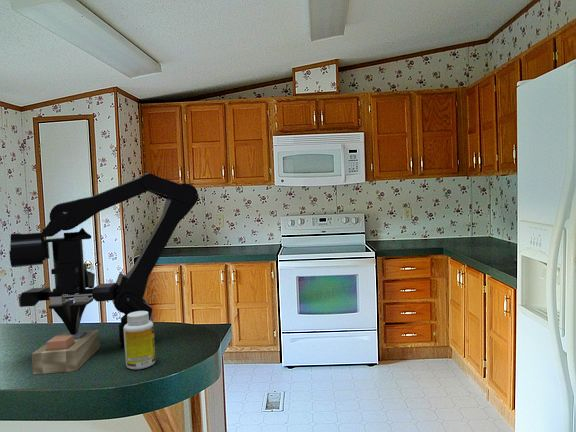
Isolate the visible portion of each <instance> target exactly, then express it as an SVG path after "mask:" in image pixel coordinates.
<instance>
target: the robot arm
mask: <svg viewBox="0 0 576 432" xmlns="http://www.w3.org/2000/svg"><path fill="white" fill-rule="evenodd" d="M147 192H149V193H151V194H154V195H155V196H158V197H159V198H162V199H165V202H164V204H163V209H162V212H161V213H162V214H161V217H160V218H159V220H158V222H156V226H155V227H154V229H153V231H152V232H151V235H149V238H148V239H147V241H146V243H145V245H144V246H143V248H142V249H141V251H140V253H139V256H138V257H137V258H136V259H137V260H136V261H135V262H134V265H133V266H132V267H131V268H130V270H129V271H128V272H127V273H126V274H124V273H122V272H119V274H118V276H117V279H116V282H109V283H108V282H107V283H99V284H98V285H96V286H95V279H96V278H95V277H96V276H95V275H96V274H95V273H94V272H92V271H89V270H88V267H87V264H86V263H85V262H84V261H85V260H84V249H83V247H84V246H83V240H90V239H92V235H91V234H89V233H88V232H87V231H86V230H85V229H84V228H83V227H81V228H80V229H79V231H72V232H63V237H55V238H51V237H54V236H55V235H57V234H58V233H59V232H61V231H69V230H73V229H75V228H76V227H78V226H80V225H81V224H83V223H84V222H86V221H88V220H89V219H90V218H92V217H93V216H95V215H96V214H98V213H100V212H101V211H104V210H106V209H109V208H112V207H113V206H116V205H118V204H120V203H124V202H126V201H128V200H130V199H132V198H135V197H137V196H140V195H142V194H145V193H147ZM199 195H200V194H199V193H198V189H196V187H195V186H194V185H193V184H190V183H186V182H185V183H177V182H174V181H173V180H169V179H166V178H162V177H159V176H157V175H155V174H154V173H150V172H148V173H143V174H142V175H140V176H139V177H137V178H135V179H132V180H130V181H127V182H125V183H121V184H120V185H117V186H114V187H112V188H109V189H108V190H104V191H103V192H100V193H98V194H94V195H92V196H88V197H82V198H77V199H73V200H70V201H65V202H64V201H63V202H61V203H58V204H56V205H54V206H53V207H52V209H51V210H50V212H49V222H48V223H47V225H46V226H45V227H43V228H42V232H30V233H20V232H15V233H11V234H10V247H9V248H10V249H9V253H8V254H9V261H10V267H11V268H21V267H22V268H23V267H29V266H31V267H32V266H39V265H44V264H45V261H47V260H49V259H50V246H49V243H51V249H52V260H53V261H52V263H53V268H52V269H50V270H51V275H54V287H55V288H53V289H52V290H51V288H50V287H46V286H45V287H35V288H34V287H32V288H30V289H27V290H25V291H22V292H21V293H20V295H19V298H18V306H19V307H20V308H23V307H24V308H25V307H36V305H37V304H38V303H39V302H40V301H43V302H44V301H49V302H50V303H49V304H50V305H48V309H49V310H53V311H54V312H55V313H56V315H57V316H58V317H59V318H60V319H61V321H62V322H63V324H64V326H65V327H66V329H67V331H68V332H70V334H71V335H75V334H77V332H78V331H79V327H80V323H81V320H82V317H83V314H84V311H85V309H86V308H87V305H89V304H91V303H92V302H93V301H96V302H98V303H99V302H110V301H112V303H113V306H114V308H115V309H116V311H117V312H119V313H121V314H123V315H122V317H120V323H119V325H118V333H119V343H120V345H119V348H121V349H122V348H125V345H124V326H125V325H126V324H127V315H128V314H129V313H132V312H136V311H147V312H148V314H149V320H150V321H152V322H153V308H152V306H151V304H149V303H148V301H147V300H145V299H144V296H145V293H146V291H147V284H148V280H149V277H150V275H151V273H152V271H153V270H154V268H155V266H156V264H157V262H158V261H159V259H160V258H161V255H162V253H163V251H164V249H165V248H166V247H167V244H168V242H169V241H170V239H171V238H172V236H173V233H174V231H175V230H176V228H177V227H178V224H179V223H180V222H181V221H182V220H183V219H184V218H185V217H186V216H187V215H188V214H189V212H190V211H192V209H193V208H194V207H195V205H196V204H197V202H198V200H199ZM47 237H48V238H47ZM49 237H50V238H49ZM153 323H154V322H153ZM156 337H157V336H156V334H154V339H155V338H156Z"/></svg>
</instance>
